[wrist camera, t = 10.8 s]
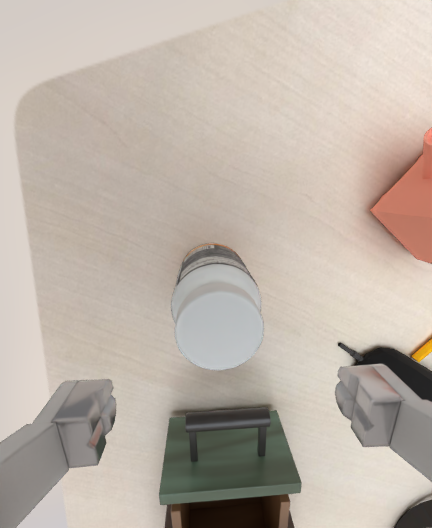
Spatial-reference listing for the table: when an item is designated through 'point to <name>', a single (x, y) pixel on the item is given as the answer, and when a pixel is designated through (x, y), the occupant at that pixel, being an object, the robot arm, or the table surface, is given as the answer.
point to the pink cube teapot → (411, 206)
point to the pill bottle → (216, 309)
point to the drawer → (228, 470)
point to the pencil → (423, 351)
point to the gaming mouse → (399, 369)
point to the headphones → (417, 517)
